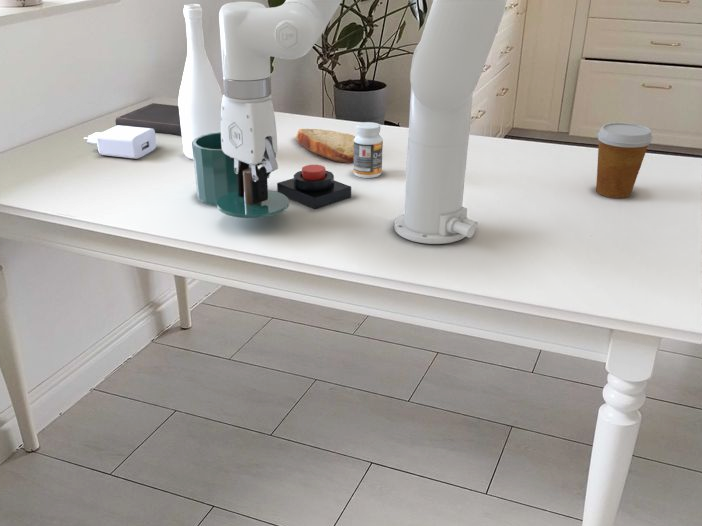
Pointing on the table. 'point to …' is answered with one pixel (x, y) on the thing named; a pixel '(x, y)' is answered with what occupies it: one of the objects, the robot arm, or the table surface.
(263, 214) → the lid
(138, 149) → the charger
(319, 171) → the release button
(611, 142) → the disposable coffee cup
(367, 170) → the pill bottle
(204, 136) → the canister
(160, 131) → the hardcover book
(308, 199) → the button housing
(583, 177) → the table surface
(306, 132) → the bread slice
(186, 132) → the wine bottle
